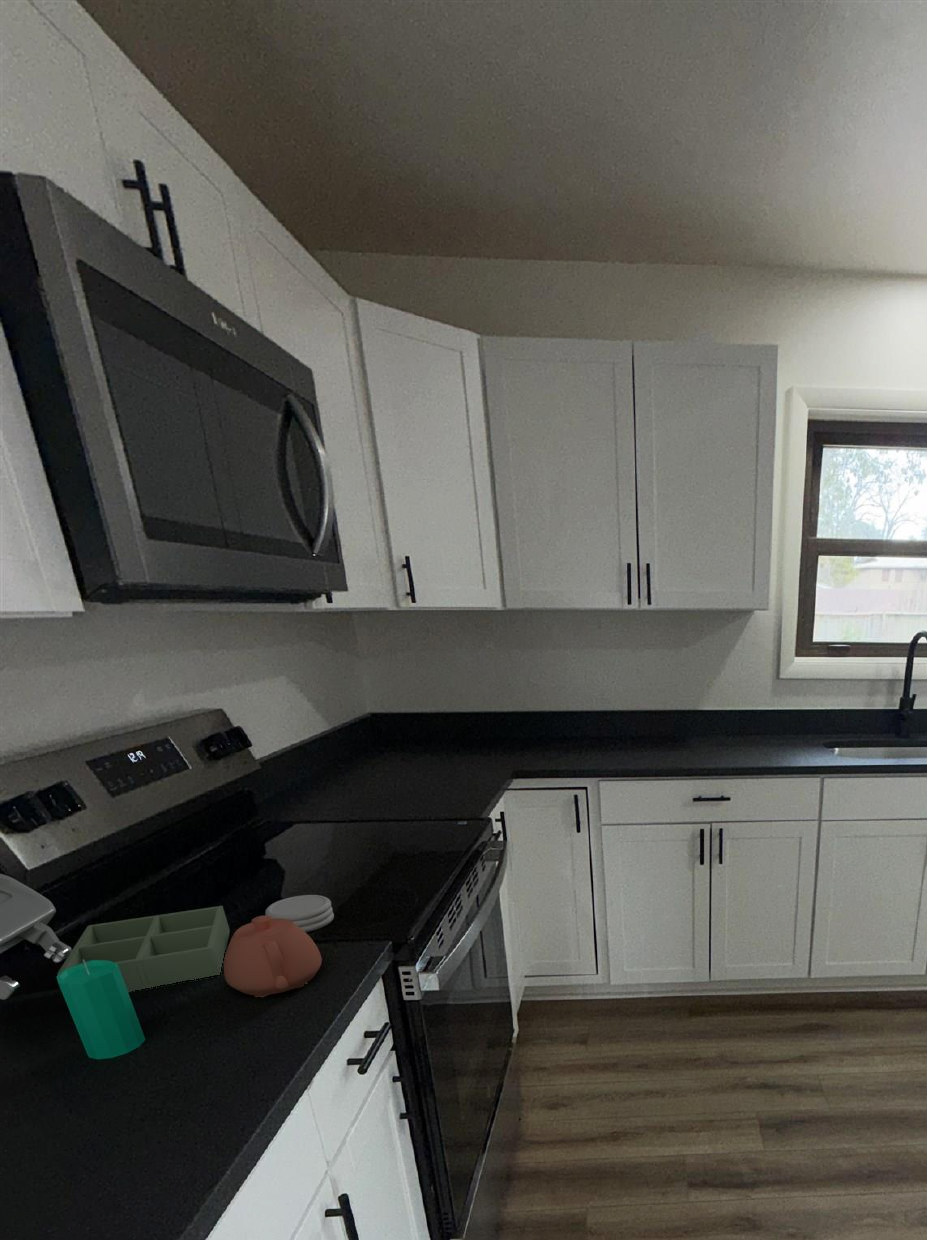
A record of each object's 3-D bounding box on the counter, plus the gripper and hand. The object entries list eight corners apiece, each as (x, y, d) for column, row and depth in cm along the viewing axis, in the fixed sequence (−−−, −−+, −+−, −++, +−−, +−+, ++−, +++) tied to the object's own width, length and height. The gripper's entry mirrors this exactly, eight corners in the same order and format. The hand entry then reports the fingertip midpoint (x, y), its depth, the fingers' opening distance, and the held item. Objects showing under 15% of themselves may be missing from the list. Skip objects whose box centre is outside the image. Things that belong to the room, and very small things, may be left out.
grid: (69, 1003, 103) (57, 973, 101) (97, 952, 117) (87, 925, 116) (220, 975, 110) (212, 947, 108) (229, 931, 125) (222, 905, 123)
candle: (92, 1040, 94) (57, 954, 89) (148, 1028, 97) (118, 944, 92) (81, 1064, 89) (44, 975, 84) (142, 1051, 92) (109, 964, 87)
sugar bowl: (316, 956, 116) (301, 895, 111) (335, 992, 105) (320, 926, 101) (225, 978, 109) (206, 913, 105) (236, 1018, 99) (215, 948, 94)
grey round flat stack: (255, 931, 124) (250, 912, 123) (300, 909, 133) (296, 891, 132) (304, 938, 122) (299, 918, 120) (347, 915, 130) (343, 897, 129)
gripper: (-162, 916, 72) (-9, 997, 77) (-10, 852, 90) (105, 921, 96) (-192, 961, 73) (-40, 1038, 78) (-36, 889, 92) (78, 955, 97)
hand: (41, 973), depth 87 cm, fingers open, 8 cm apart
